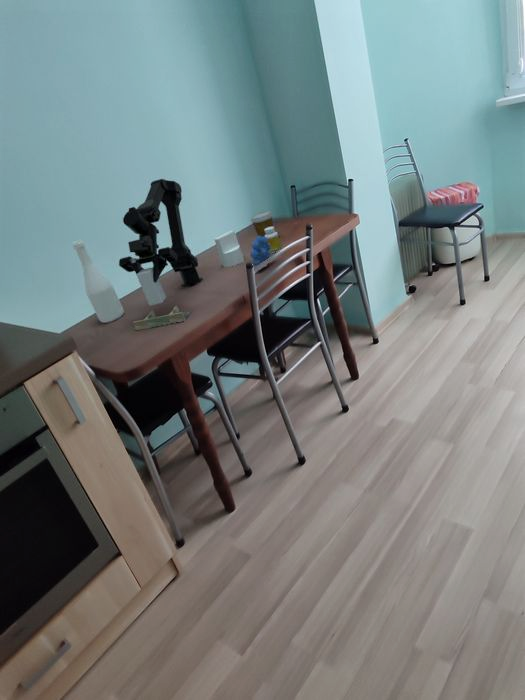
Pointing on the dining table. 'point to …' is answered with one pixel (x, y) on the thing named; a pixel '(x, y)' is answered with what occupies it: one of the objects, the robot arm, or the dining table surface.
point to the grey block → (151, 287)
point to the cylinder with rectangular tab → (229, 249)
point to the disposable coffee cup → (262, 222)
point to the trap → (161, 319)
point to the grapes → (260, 250)
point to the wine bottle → (98, 288)
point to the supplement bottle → (272, 239)
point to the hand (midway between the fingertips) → (148, 283)
